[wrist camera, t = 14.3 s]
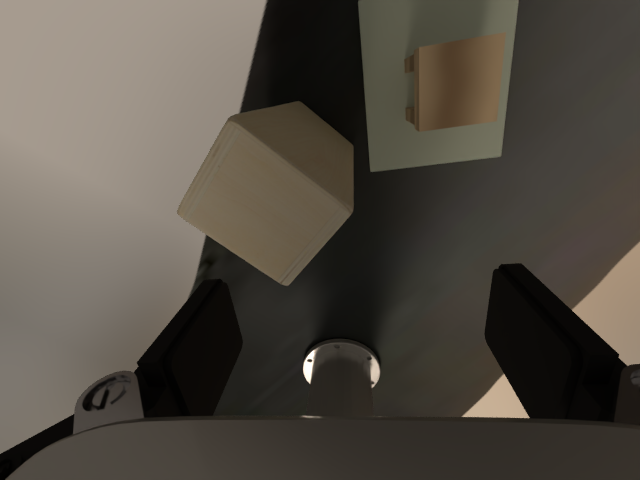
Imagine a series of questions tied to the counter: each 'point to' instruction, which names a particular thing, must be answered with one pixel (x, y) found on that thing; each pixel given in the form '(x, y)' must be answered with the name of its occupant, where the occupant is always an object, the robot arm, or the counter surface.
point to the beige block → (273, 188)
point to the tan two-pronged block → (456, 82)
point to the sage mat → (398, 87)
